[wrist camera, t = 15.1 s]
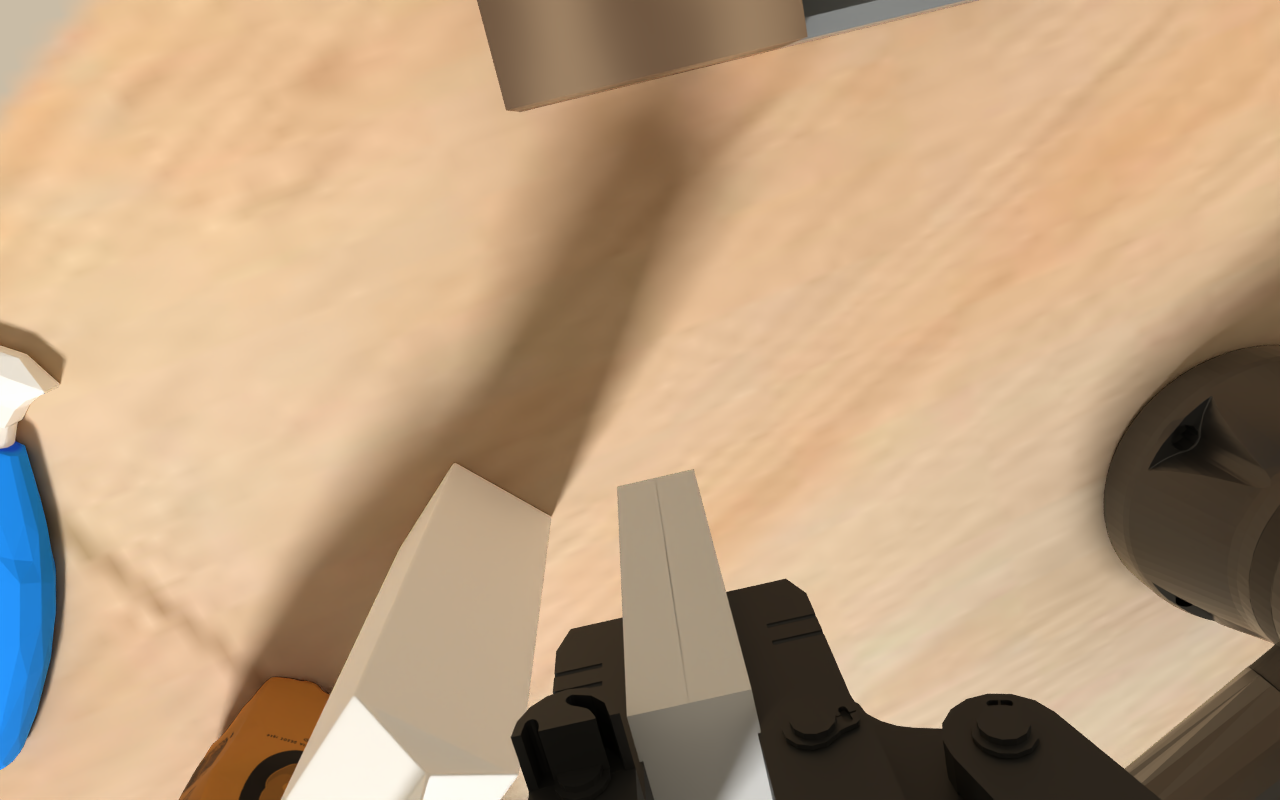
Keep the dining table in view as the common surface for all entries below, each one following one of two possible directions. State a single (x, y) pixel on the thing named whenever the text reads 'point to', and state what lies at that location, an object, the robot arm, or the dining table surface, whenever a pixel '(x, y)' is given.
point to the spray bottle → (22, 561)
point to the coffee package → (260, 744)
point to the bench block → (623, 41)
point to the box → (861, 14)
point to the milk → (438, 658)
